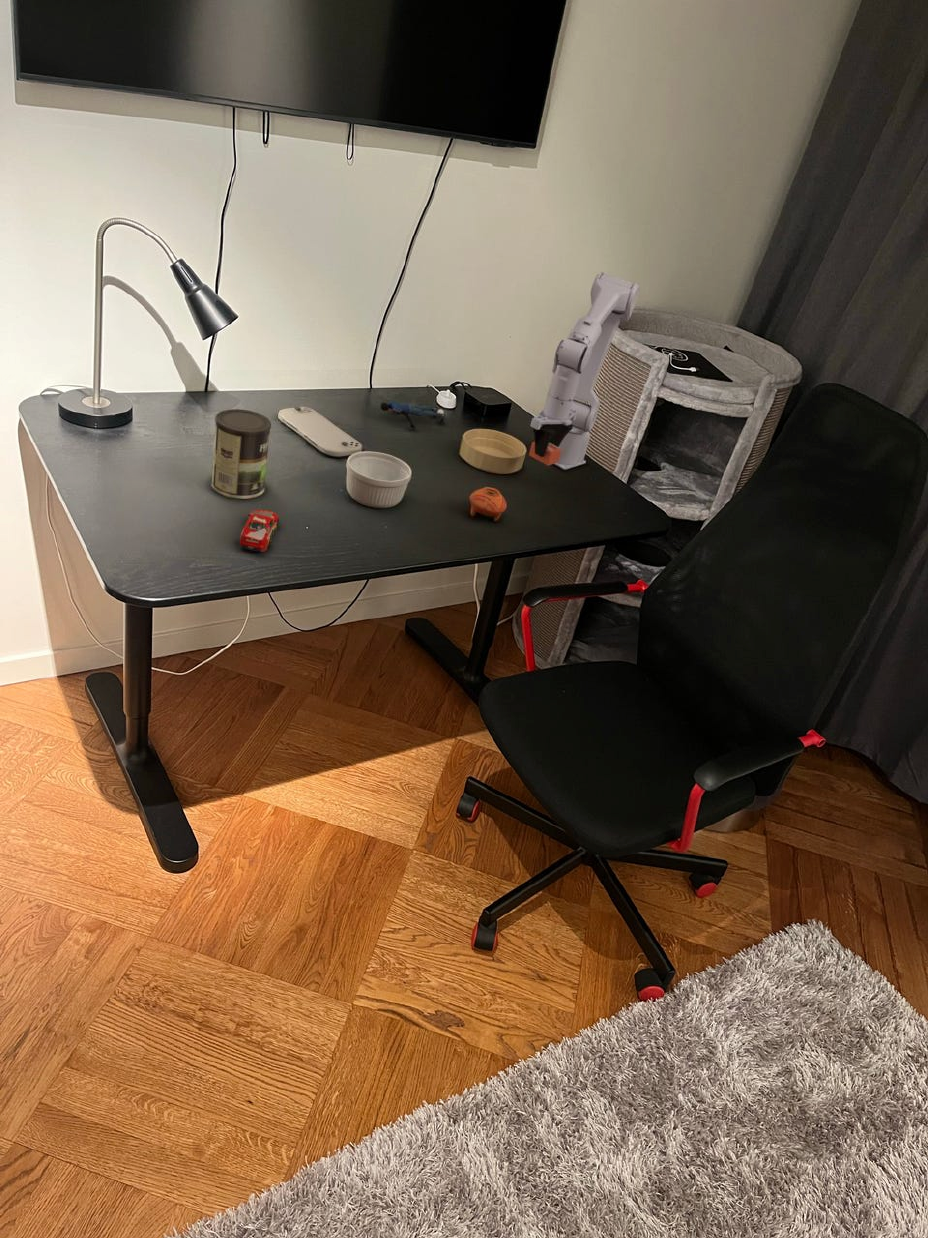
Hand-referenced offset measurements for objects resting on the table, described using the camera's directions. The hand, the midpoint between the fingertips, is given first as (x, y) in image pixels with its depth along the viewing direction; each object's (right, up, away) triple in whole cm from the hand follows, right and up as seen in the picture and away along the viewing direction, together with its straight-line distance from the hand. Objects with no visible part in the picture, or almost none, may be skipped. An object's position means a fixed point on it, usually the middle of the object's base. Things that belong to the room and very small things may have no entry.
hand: (544, 453), depth 205 cm
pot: (-14, -16, -13) cm, 25 cm away
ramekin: (-37, -12, -16) cm, 42 cm away
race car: (-55, -22, -39) cm, 71 cm away
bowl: (-12, 0, +11) cm, 16 cm away
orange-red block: (0, -1, +1) cm, 1 cm away
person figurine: (-31, +11, +20) cm, 39 cm away
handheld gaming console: (-51, +4, +2) cm, 51 cm away
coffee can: (-63, -11, -25) cm, 69 cm away
